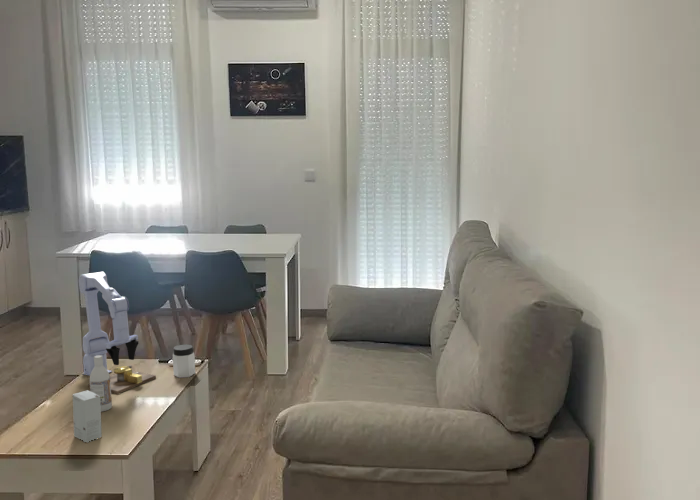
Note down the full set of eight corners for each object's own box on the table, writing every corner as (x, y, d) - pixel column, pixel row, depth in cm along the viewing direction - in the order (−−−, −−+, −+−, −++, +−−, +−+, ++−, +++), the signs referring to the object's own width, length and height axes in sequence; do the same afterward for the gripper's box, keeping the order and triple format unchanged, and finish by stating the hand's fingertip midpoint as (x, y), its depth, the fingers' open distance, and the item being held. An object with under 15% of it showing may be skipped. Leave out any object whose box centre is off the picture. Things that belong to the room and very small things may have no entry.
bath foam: (113, 410, 241) (109, 357, 238) (92, 413, 238) (88, 360, 235) (111, 403, 247) (107, 352, 244) (91, 407, 244) (87, 355, 241)
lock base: (88, 386, 265) (87, 376, 264) (127, 372, 282) (126, 362, 281) (117, 394, 257) (117, 383, 256) (155, 378, 274) (155, 368, 273)
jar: (198, 375, 277) (196, 347, 275) (180, 379, 272) (178, 351, 270) (188, 369, 284) (187, 342, 282) (171, 374, 279) (169, 346, 277)
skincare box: (73, 436, 219) (70, 394, 216) (90, 430, 223) (87, 388, 221) (86, 443, 213) (83, 400, 211) (103, 437, 218) (100, 394, 215)
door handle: (111, 380, 268) (110, 369, 267) (122, 375, 273) (122, 365, 272) (134, 385, 262) (133, 374, 261) (145, 380, 267) (144, 369, 266)
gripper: (113, 333, 249) (116, 368, 251) (142, 324, 262) (145, 358, 263) (100, 331, 253) (103, 366, 254) (129, 323, 265) (132, 356, 267)
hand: (124, 362), depth 259 cm, fingers open, 7 cm apart
